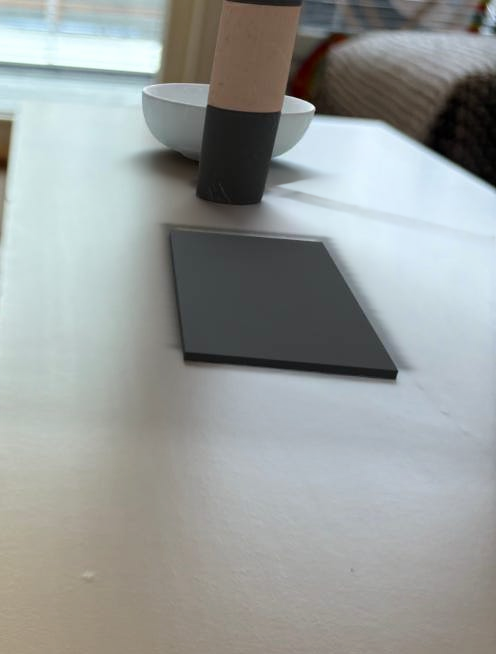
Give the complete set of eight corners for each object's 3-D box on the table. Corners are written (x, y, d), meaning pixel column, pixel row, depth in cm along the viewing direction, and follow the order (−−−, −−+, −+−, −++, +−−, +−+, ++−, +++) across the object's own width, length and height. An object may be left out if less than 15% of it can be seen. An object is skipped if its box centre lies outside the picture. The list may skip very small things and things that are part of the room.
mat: (169, 235, 90) (170, 229, 90) (320, 248, 90) (322, 241, 89) (183, 360, 65) (185, 351, 64) (396, 379, 64) (398, 370, 64)
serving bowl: (269, 185, 111) (282, 117, 106) (106, 156, 119) (113, 92, 115) (324, 159, 125) (338, 99, 121) (176, 135, 133) (184, 77, 129)
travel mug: (208, 184, 109) (243, -32, 97) (274, 196, 106) (318, -26, 94) (182, 196, 104) (215, -31, 92) (250, 208, 101) (293, -25, 89)
